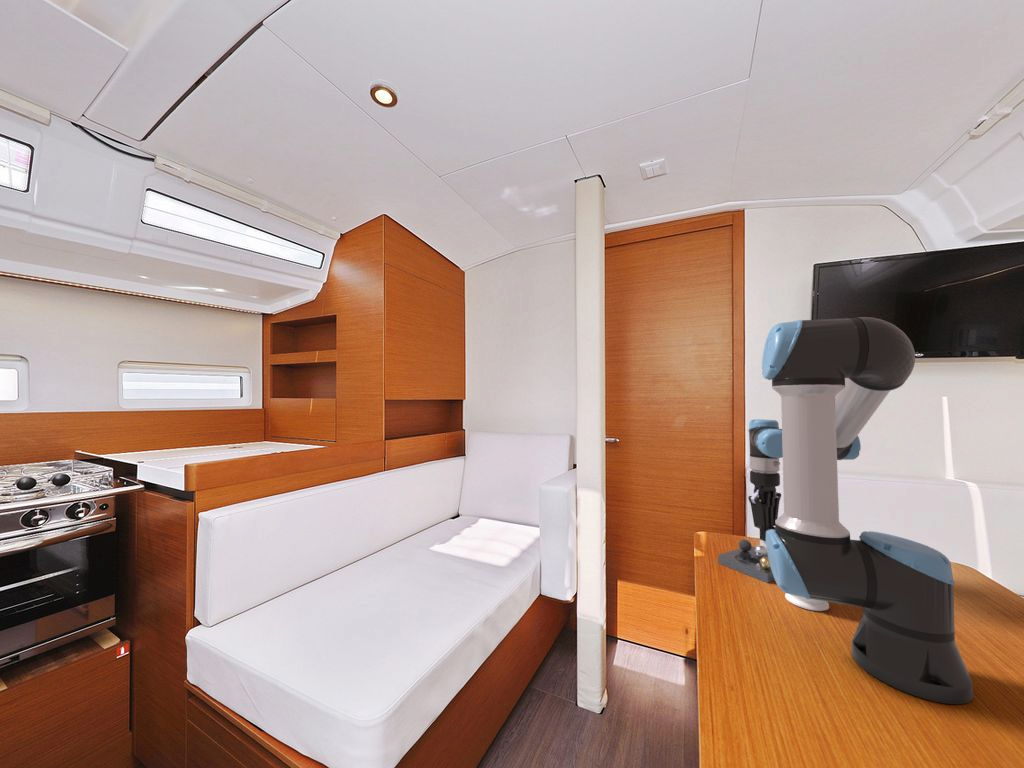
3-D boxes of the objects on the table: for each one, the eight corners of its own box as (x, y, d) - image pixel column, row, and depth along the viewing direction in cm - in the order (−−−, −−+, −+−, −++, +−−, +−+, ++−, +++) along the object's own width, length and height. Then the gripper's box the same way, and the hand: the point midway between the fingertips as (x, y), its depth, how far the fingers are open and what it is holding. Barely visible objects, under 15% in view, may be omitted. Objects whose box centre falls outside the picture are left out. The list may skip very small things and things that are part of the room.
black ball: (747, 554, 116) (747, 542, 116) (736, 550, 119) (736, 538, 119) (754, 552, 117) (753, 540, 118) (743, 548, 120) (742, 537, 121)
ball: (770, 557, 113) (763, 560, 111) (759, 553, 116) (752, 556, 114) (770, 546, 113) (763, 548, 111) (758, 542, 116) (751, 545, 114)
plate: (767, 583, 103) (767, 573, 103) (718, 563, 115) (718, 554, 115) (799, 571, 110) (799, 562, 110) (750, 553, 123) (750, 545, 123)
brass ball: (768, 571, 104) (768, 560, 104) (757, 567, 107) (757, 556, 107) (775, 569, 105) (774, 558, 106) (763, 565, 108) (763, 554, 108)
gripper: (764, 475, 109) (766, 559, 108) (790, 471, 115) (792, 551, 114) (738, 470, 116) (740, 550, 115) (764, 467, 122) (765, 543, 121)
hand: (766, 550), depth 115 cm, fingers closed
